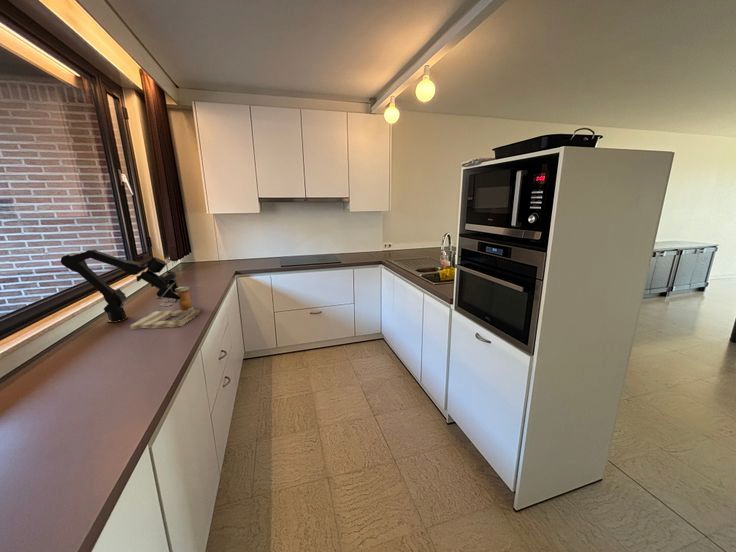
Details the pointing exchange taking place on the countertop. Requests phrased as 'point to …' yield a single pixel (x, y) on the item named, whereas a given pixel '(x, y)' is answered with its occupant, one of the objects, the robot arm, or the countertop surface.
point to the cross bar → (182, 315)
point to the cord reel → (184, 298)
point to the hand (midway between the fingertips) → (181, 296)
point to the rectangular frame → (157, 319)
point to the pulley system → (168, 300)
